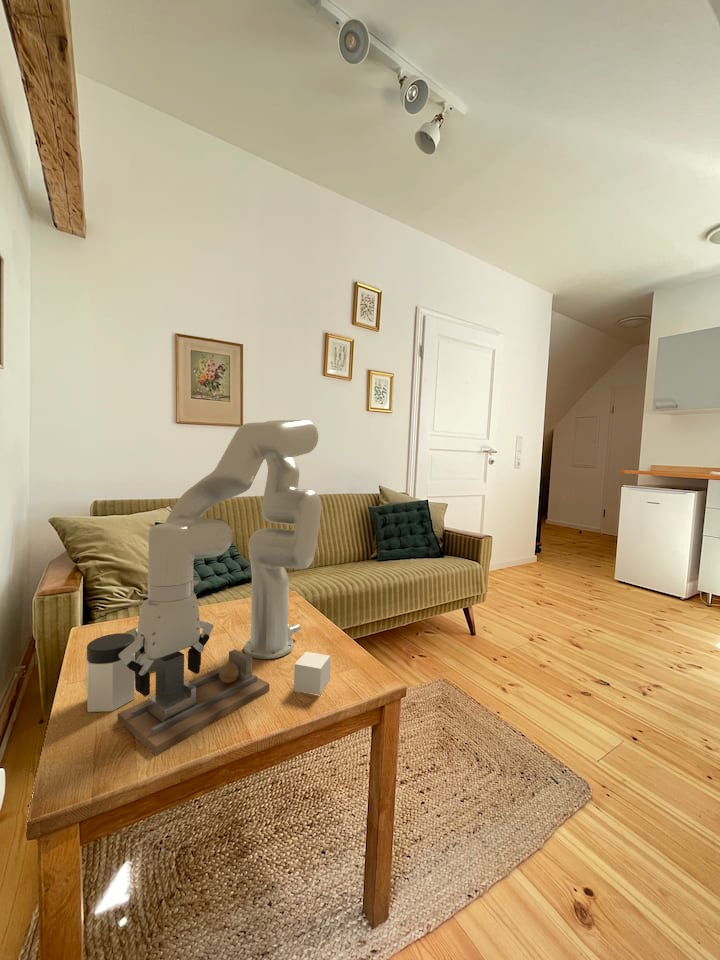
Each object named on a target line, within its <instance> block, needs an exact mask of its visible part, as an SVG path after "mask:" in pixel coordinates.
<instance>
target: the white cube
mask: <svg viewBox="0 0 720 960" xmlns="http://www.w3.org/2000/svg"><path fill="white" fill-rule="evenodd" d="M331 657H332V656H331V655H328V654H322V653H316V652H311V651H310V652H309V651H305V652H304V653H303V654H302V655H301V657H299V659H297V660H296V662H294V673H293V674H294V675H293V691H294V692H295V691H299V692H298V693H301V692H305V693H304V694H306V693H313V694H318V695H320V694H321V693H322V691H323V689H324V688H325V687H326V685H327V684H328V682H329V681H330V682H331ZM330 682H329V683H330ZM328 685H329V684H328ZM328 685H327V686H328ZM326 688H327V687H326ZM326 688H325V689H326ZM323 692H324V691H323ZM322 694H323V693H322ZM322 694H321V695H322Z"/></svg>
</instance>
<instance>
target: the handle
mask: <svg viewBox="0 0 720 960" xmlns="http://www.w3.org/2000/svg"><path fill="white" fill-rule="evenodd" d="M147 700H148V711H149V712H150V713H151V714H153V715H154V716H155V717H156V718H158V719H159V720H160V721H162V722H165V721H166V720H168V719H170V718H172V717H174V716H176V715H178V714H180V713H182V712H184V711H186V710H188V709H190V708H192V707H194V706H196V686H194V685H192V684H191V683H189V682H188V681H187V680H186V679H185V654H184V653H182V652H181V651H178V652H175V653H173V654H170V655H167V656H165V657H162V658H159V659H156V671H155V694H153V695H151V696H147Z"/></svg>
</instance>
